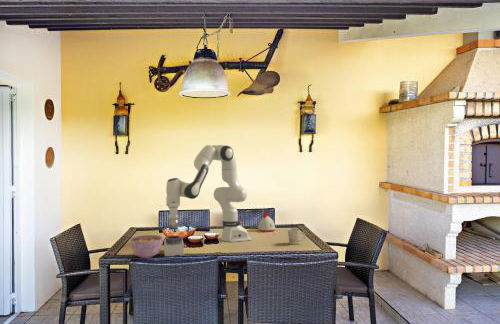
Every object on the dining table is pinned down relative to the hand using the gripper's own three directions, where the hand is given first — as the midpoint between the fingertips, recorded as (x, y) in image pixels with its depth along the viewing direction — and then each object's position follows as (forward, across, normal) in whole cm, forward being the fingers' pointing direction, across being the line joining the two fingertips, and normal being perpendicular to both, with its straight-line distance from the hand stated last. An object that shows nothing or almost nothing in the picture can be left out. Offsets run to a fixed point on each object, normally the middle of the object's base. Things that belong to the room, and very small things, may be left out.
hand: (173, 223), depth 277 cm
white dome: (+18, -53, +76) cm, 95 cm away
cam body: (+18, +2, 0) cm, 19 cm away
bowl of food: (+19, +9, -17) cm, 27 cm away
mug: (+18, -4, +86) cm, 88 cm away
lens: (+3, 0, 0) cm, 3 cm away
